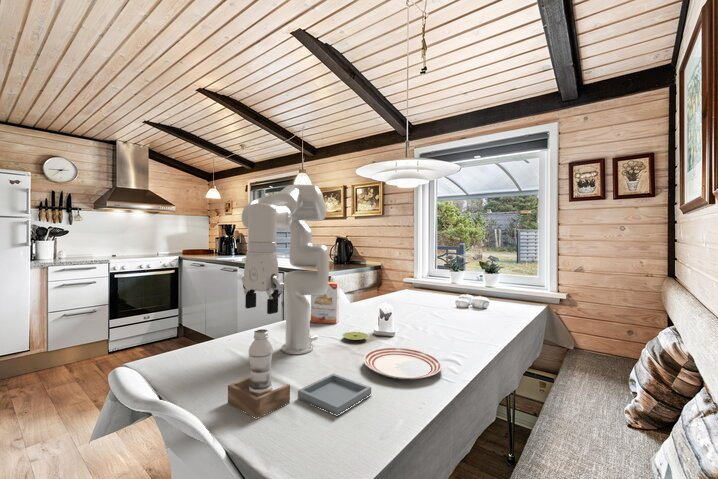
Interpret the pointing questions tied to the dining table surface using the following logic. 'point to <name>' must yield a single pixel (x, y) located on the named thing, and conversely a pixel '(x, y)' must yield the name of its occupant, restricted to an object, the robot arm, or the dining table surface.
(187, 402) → the dining table surface
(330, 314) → the cracker box
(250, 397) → the walnut bay
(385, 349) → the dinner plate
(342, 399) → the grey square tray
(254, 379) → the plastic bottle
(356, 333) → the mat
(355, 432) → the dining table surface
